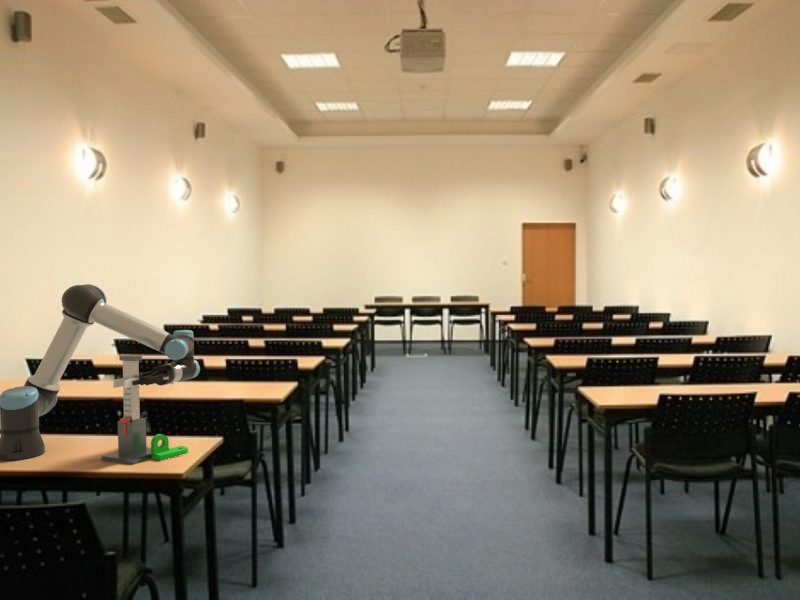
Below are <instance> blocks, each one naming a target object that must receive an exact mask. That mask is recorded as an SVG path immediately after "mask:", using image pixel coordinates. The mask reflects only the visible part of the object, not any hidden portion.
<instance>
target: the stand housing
mask: <svg viewBox="0 0 800 600" xmlns="http://www.w3.org/2000/svg"><path fill="white" fill-rule="evenodd" d="M117 442H118V443H117V445H118V446H117V449H118V450H115V451H113V452H110V453H107V454H104V455H100V456H101V459H100V460H101V461H103V462H110V463H111V462H112V463H120V464H127V465H128V464H129V465H136V464H138V463H140V462H141V463H142V462H144V461H146V460H149V459H152V458H151V447H147V418H141V417H140V420H137V421H133V422H131V418H124V417H122V418H120V419H119V420H118V421H117Z"/></svg>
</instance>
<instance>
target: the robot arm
mask: <svg viewBox="0 0 800 600" xmlns="http://www.w3.org/2000/svg"><path fill="white" fill-rule="evenodd" d="M107 302H108V300H107V296H106V293H105V292H104V291H103V289H102V288H100V287H99V286H97V285H93V284H88V283H87V284H76V285H72V286H69V287H68V288H67V289H66V290H65V291H64V292H63V294H62V296H61V305H62V308H63V309H62V311H61V313H62V316H63V319H62V321H61V323H60V325H59V327H58V328H57V331H56V333H55V335H54V336H53V339H52V340H51V342H50V344H49V346H48V347H47V350H46V351H45V353H44V356H43V357H42V360H41V362H40V363H39V365H38V367H37V370H36V371H35V373H34V374H33V375H30V376H28V377H27V378H26V381H25V383H24V385H23V386H22V385H21V386H16V387H12V388H8V389H6V390H3V391H2V392H1V393H0V461H18V460H19V459H20V460H25V459H30V457H31V458H35V457H38V456H41V455H43V454H44V453H45V452H46V445H45V442H44V440H43V437H42V435H41V432H40V427H39V426H40V420H39V418H40V417H42V416H44V415H46V414H48V413H49V412H50V411H52V409H54V407H55V406H56V404H57V402H58V394H59V391H60V389H61V386H60V385H59V382H60V381H61V379H62V376H63V375H64V373H65V371H66V368H67V367H68V365H69V363H70V361H71V359H72V357H73V355H74V353H75V351H76V349H77V347H78V346H79V343H80V342H81V339H82V337H83V335H84V334H85V332H86V330H87V328H88V327H90V326H93V325H94V323H96V324H98V325H100V326H103V327H105V328H107V329H108V330H109V329H110V330H111V331H114V332H116V333H118V334H120V335H123V336H125V337H126V338H129V339H131V340H133V341H136V342H138V343H139V344H142V345H144V346H146V347H149V348H150V349H153V350H156V351H158V352H159V353H162V354H163V355H166V357H167V358H168V359H170V360H173V362H171V363H170V362H169V363H164V364H161V365H160V364H159V365H156V366H155V367H154V368H153V370H150V371H147V372H141V371H139V378H133V379H128V380H123V377H121V378H116V379H113V380H112V382H113V383H112V385H113V389H116V388H120V387H123V388H124V389H125V388H130V387H134V386H139V387H140V386H149V385H155V384H156V385H158V386H166V385H169V384H170V385H174V384H175V383H179V382H183V381H189V380H191V379H194V378H196V377H197V376H199V374H200V371H201V367H200V364H199V362H198V361H197V360H196V359H195V353H194V352H195V351H194V348H195V347H194V346H195V345H194V343H195V342H194V340H195V338H194V331H192V330H191V329H182V330H178V329H177V330H174V331H173V334H172V333H169V332H167V331H165V330H164V329H161V328H159V327H156V326H155V325H152V324H151V323H148V322H146V321H144V320H141V319H139V318H137V317H135V316H133V315H131V314H129V313H127V312H124V311H122V310H120V309H118V308H116V307H114V306H112V305H109V304H107ZM123 388H122V389H123ZM20 460H19V461H20Z"/></svg>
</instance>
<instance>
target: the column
mask: <svg viewBox="0 0 800 600" xmlns="http://www.w3.org/2000/svg"><path fill="white" fill-rule="evenodd" d="M118 357H119V359H118V360H119V361H122V378H123V380H128V379H133V378H139V373H140V371H139V370H140V369H139V368H140V367H139V366H140V364H139V363H140V361H143V356H142V355H136V354H123V355H119V356H118ZM122 390H123V391H122V392H123V418H131V422H133V421H137V420H140V418H141V417H140V416H141V415H140V413H141V412H140V409H141V408H140V407H141V406H140V385H139V386H134V387H130V388H125V389H124V388H122Z"/></svg>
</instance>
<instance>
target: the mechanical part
mask: <svg viewBox="0 0 800 600" xmlns="http://www.w3.org/2000/svg"><path fill="white" fill-rule="evenodd" d="M160 441H161V444H160V445H159V442H160ZM169 443H170V442H169V438H168V436H167V435H165V434H161V433H158V434H155V435H154V436H153V437H152V439H151V440H150V448H151V458H150V459H153V458H154V460H156V459H157V460H156V461H159V460H160V461H159V462H162V461H161V460H163V461H166V460H165V459H167V460H169V459H168V458H171V459H173V458H172V457H175V456H179V455H182V454H186V453H188V454H189V447H188V446H185V445H179V446H175V447H171V448H169V447H170V446H169V445H170V444H169ZM186 455H187V454H186ZM179 457H180V456H179ZM175 458H176V457H175Z"/></svg>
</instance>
